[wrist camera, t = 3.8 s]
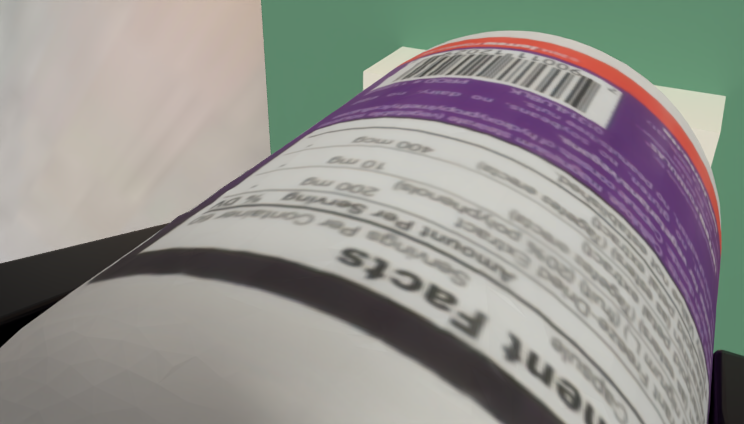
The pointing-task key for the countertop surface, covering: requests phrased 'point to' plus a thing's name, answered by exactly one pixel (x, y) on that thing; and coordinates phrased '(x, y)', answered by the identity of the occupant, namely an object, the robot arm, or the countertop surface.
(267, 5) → the board
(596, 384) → the pill bottle
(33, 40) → the countertop surface
